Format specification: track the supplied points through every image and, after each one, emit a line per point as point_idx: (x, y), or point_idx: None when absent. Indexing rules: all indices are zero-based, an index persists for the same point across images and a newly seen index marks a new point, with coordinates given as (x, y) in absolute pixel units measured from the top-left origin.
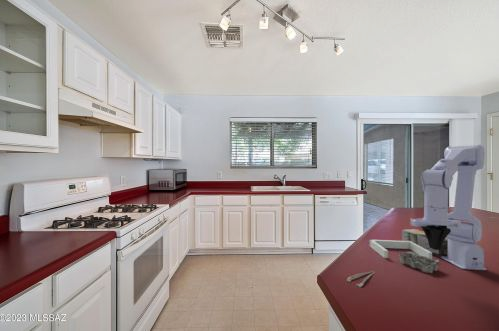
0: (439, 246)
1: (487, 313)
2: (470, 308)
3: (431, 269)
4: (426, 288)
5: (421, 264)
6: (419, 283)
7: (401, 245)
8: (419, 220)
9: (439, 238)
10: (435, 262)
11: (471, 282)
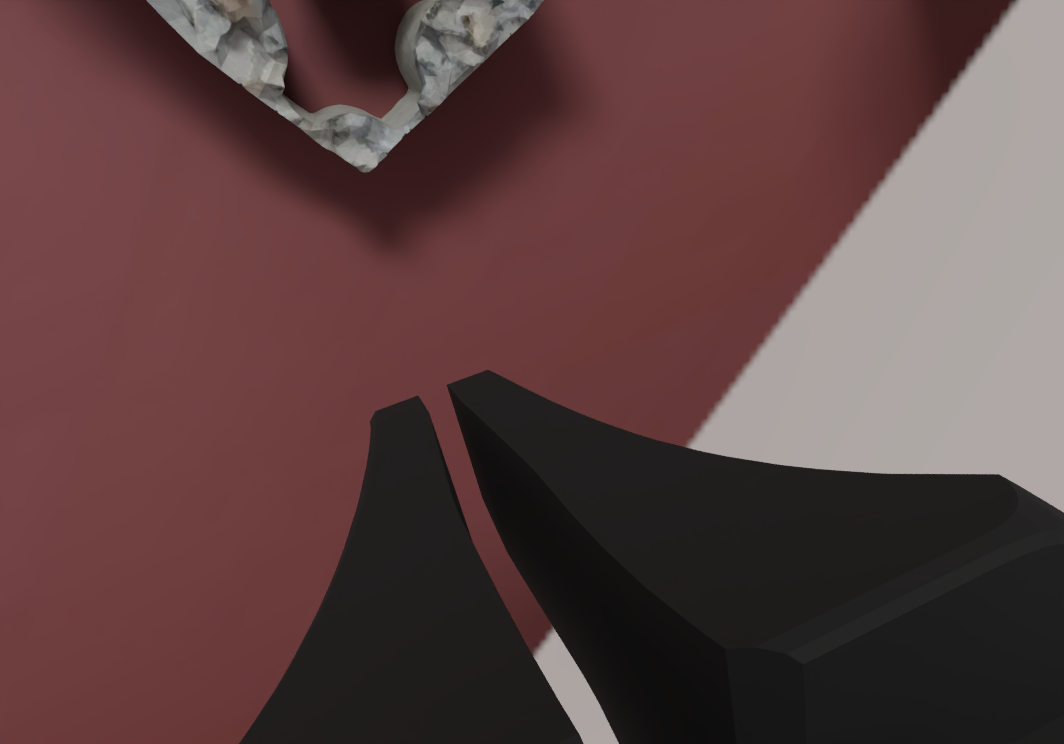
0: (519, 562)
1: None
2: None
3: (392, 122)
4: (158, 557)
5: (267, 87)
6: (111, 481)
7: None
8: None
9: (603, 687)
10: (513, 16)
11: (699, 230)
